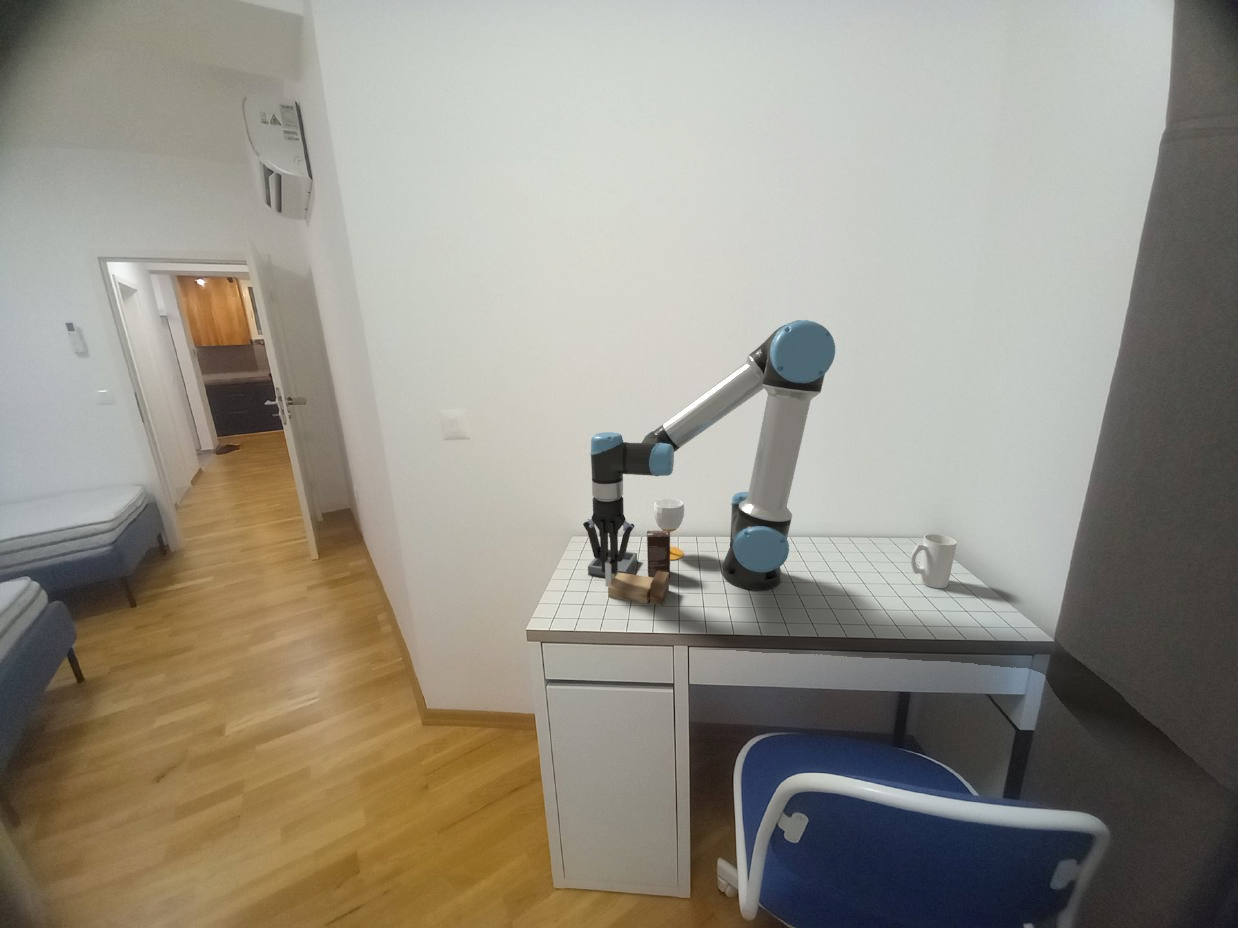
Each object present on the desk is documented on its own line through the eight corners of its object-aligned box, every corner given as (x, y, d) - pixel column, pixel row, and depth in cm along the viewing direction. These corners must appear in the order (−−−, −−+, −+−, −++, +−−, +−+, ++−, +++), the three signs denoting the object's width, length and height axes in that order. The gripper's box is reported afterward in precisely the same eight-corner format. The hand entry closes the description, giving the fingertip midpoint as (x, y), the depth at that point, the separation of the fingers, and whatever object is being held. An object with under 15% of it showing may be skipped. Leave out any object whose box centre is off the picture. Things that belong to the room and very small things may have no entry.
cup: (690, 555, 132) (691, 503, 128) (666, 563, 128) (667, 510, 124) (670, 544, 140) (670, 495, 136) (647, 552, 135) (647, 502, 131)
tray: (637, 560, 129) (637, 553, 129) (625, 580, 119) (624, 571, 118) (602, 556, 133) (602, 548, 132) (588, 574, 122) (587, 566, 121)
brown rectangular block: (668, 590, 113) (668, 572, 112) (662, 604, 107) (662, 586, 106) (657, 588, 114) (657, 570, 113) (650, 602, 108) (650, 584, 107)
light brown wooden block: (655, 588, 116) (655, 577, 115) (647, 604, 108) (647, 593, 107) (618, 582, 119) (618, 572, 118) (608, 598, 111) (607, 587, 110)
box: (668, 569, 124) (668, 529, 121) (670, 578, 120) (670, 536, 117) (646, 570, 124) (646, 529, 121) (647, 578, 120) (647, 536, 117)
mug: (936, 575, 118) (943, 533, 115) (955, 588, 112) (963, 544, 109) (898, 576, 118) (905, 534, 115) (915, 589, 111) (923, 545, 108)
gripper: (637, 494, 110) (638, 580, 116) (588, 489, 114) (591, 573, 120) (628, 503, 103) (630, 595, 109) (577, 499, 107) (580, 587, 113)
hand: (610, 583), depth 114 cm, fingers closed
